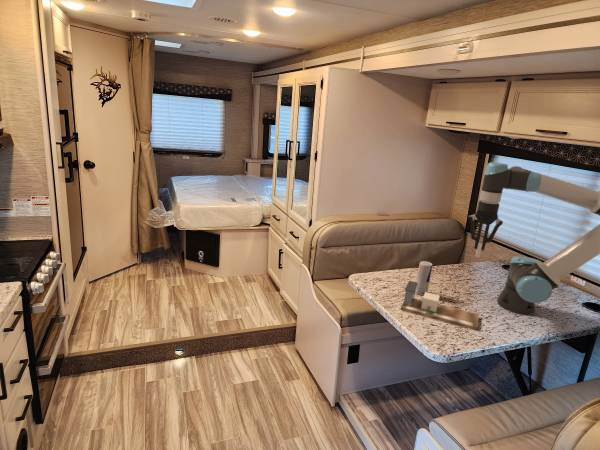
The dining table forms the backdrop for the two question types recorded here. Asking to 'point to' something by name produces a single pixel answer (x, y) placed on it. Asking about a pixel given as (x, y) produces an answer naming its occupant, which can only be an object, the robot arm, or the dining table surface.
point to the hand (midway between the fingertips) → (477, 256)
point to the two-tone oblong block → (410, 293)
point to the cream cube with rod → (430, 302)
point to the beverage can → (423, 277)
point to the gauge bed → (445, 314)
